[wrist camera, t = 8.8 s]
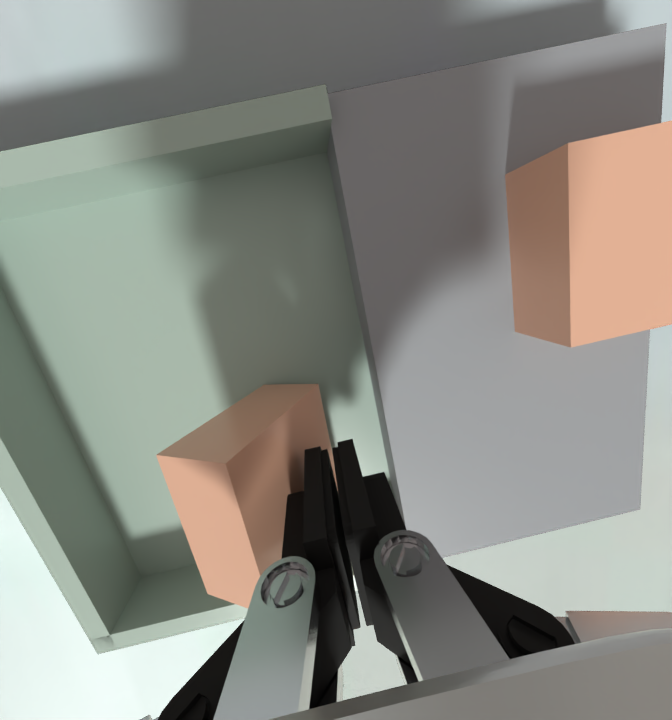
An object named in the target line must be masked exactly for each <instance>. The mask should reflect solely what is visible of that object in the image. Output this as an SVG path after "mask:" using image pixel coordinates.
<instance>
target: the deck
mask: <svg viewBox="0 0 672 720" xmlns="http://www.w3.org/2000/svg"><path fill="white" fill-rule="evenodd" d="M665 41H666V23H665V24H660V25H655V26H650V27H646V28H641V29H636V30H631V31H626V32H622V33H617V34H612V35H607V36H602V37H597V38H593V39H588V40H583V41H578V42H573V43H569V44H564V45H559V46H554V47H549V48H545V49H540V50H535V51H530V52H525V53H521V54H516V55H511V56H506V57H501V58H497V59H492V60H487V61H482V62H477V63H472V64H468V65H463V66H458V67H453V68H448V69H444V70H439V71H434V72H429V73H424V74H420V75H415V76H410V77H405V78H400V79H396V80H391V81H386V82H381V83H376V84H372V85H367V86H362V87H357V88H352V89H347V90H343V91H338V92H333V93H328V99H329V105H330V110H331V115H332V123H331V129H330V136H329V142H328V149H327V155H328V160H329V165H330V170H331V175H332V181H333V186H334V191H335V196H336V201H337V206H338V212H339V217H340V222H341V227H342V232H343V237H344V243H345V248H346V253H347V258H348V263H349V268H350V274H351V279H352V284H353V289H354V294H355V299H356V305H357V310H358V315H359V320H360V325H361V330H362V335H363V341H364V346H365V351H366V356H367V361H368V366H369V372H370V377H371V382H372V387H373V392H374V397H375V403H376V408H377V413H378V418H379V423H380V428H381V434H382V439H383V444H384V449H385V454H386V459H387V465H388V470H389V475H390V480H391V485H392V490H393V496H394V498H395V501H396V503H397V506H398V509H399V511H400V514H401V516H402V519H403V522H404V524H405V527H406V529H407V530H411V531H415V532H418V533H420V534H422V535H423V536H425V537H427V538H428V540H429V541H430V542H431V543H432V544H433V545H434V547H435V548H436V550H437V551H438V553H439V554H440V556H441V557H442V558H444V557H448V556H452V555H456V554H460V553H464V552H468V551H472V550H477V549H481V548H485V547H489V546H493V545H497V544H501V543H505V542H509V541H513V540H517V539H521V538H525V537H530V536H534V535H538V534H542V533H546V532H550V531H554V530H558V529H562V528H566V527H570V526H574V525H578V524H583V523H587V522H591V521H595V520H599V519H603V518H607V517H611V516H615V515H619V514H623V513H627V512H632V511H636V510H640V503H641V484H642V466H643V447H644V429H645V410H646V392H647V373H648V355H649V336H650V329H649V330H645V331H641V332H636V333H632V334H628V335H623V336H619V337H615V338H610V339H606V340H602V341H597V342H593V343H589V344H584V345H580V346H576V347H571V348H570V347H567V346H563V345H560V344H556V343H553V342H549V341H546V340H542V339H538V338H535V337H531V336H528V335H524V334H521V333H517V332H515V327H514V311H513V294H512V278H511V262H510V246H509V230H508V214H507V198H506V182H505V174H507V173H509V172H511V171H513V170H515V169H517V168H519V167H521V166H523V165H525V164H527V163H529V162H531V161H533V160H535V159H537V158H539V157H541V156H543V155H545V154H547V153H549V152H551V151H553V150H555V149H557V148H559V147H561V146H563V145H565V144H567V143H571V142H575V141H580V140H585V139H589V138H594V137H599V136H603V135H608V134H612V133H617V132H622V131H626V130H631V129H636V128H640V127H645V126H650V125H654V124H659V123H661V115H662V96H663V78H664V59H665Z"/></svg>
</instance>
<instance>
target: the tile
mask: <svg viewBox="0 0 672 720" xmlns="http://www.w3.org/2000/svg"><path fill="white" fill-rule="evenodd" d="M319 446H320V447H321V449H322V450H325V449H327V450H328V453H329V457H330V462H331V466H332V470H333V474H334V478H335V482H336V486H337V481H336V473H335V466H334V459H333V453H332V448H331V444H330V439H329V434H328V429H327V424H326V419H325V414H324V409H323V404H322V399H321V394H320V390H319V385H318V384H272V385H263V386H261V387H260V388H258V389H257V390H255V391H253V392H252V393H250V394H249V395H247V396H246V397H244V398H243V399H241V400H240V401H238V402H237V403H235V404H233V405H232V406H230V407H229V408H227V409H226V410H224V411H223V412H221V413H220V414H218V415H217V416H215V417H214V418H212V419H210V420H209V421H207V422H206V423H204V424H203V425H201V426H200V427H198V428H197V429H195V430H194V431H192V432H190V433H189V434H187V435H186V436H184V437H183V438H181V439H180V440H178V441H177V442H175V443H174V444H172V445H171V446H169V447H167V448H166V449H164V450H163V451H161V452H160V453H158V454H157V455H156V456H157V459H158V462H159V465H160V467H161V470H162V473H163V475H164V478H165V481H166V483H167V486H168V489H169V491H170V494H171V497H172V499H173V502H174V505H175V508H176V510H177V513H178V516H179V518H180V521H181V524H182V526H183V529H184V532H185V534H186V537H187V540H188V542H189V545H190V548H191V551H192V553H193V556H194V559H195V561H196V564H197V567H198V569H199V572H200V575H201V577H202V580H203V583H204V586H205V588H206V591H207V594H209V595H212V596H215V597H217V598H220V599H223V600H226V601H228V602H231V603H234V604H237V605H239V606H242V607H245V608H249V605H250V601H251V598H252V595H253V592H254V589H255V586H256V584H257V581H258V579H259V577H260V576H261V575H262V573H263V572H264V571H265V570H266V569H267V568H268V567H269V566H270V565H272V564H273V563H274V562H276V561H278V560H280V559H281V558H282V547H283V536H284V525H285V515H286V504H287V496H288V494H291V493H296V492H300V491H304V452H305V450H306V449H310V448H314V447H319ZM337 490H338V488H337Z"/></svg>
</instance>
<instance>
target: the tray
mask: <svg viewBox="0 0 672 720" xmlns="http://www.w3.org/2000/svg"><path fill="white" fill-rule="evenodd" d="M331 123H332V115H331V110H330V105H329V99H328V94H327V88H326V84H324V85H319V86H314V87H309V88H304V89H300V90H295V91H290V92H285V93H280V94H276V95H271V96H266V97H261V98H256V99H251V100H247V101H242V102H237V103H232V104H227V105H222V106H218V107H213V108H208V109H203V110H198V111H193V112H189V113H184V114H179V115H174V116H169V117H165V118H160V119H155V120H150V121H145V122H140V123H136V124H131V125H126V126H121V127H116V128H111V129H107V130H102V131H97V132H92V133H87V134H82V135H78V136H73V137H68V138H63V139H58V140H54V141H49V142H44V143H39V144H34V145H29V146H25V147H20V148H15V149H10V150H5V151H0V487H1V489H2V491H3V493H4V494H5V496H6V498H7V499H8V501H9V503H10V505H11V506H12V508H13V510H14V511H15V513H16V515H17V517H18V518H19V520H20V522H21V523H22V525H23V527H24V529H25V530H26V532H27V534H28V535H29V537H30V539H31V541H32V542H33V544H34V546H35V547H36V549H37V551H38V553H39V554H40V556H41V558H42V559H43V561H44V563H45V565H46V566H47V568H48V570H49V572H50V573H51V575H52V577H53V578H54V580H55V582H56V584H57V585H58V587H59V589H60V590H61V592H62V594H63V596H64V597H65V599H66V601H67V602H68V604H69V606H70V608H71V609H72V611H73V613H74V614H75V616H76V618H77V620H78V621H79V623H80V625H81V626H82V628H83V630H84V632H85V633H86V635H87V637H88V638H89V640H90V642H91V644H92V645H93V647H94V649H95V650H96V652H97V654H101V653H105V652H109V651H113V650H117V649H121V648H125V647H130V646H134V645H138V644H142V643H146V642H150V641H154V640H158V639H162V638H166V637H170V636H174V635H178V634H182V633H186V632H190V631H195V630H199V629H203V628H207V627H211V626H215V625H219V624H223V623H227V622H231V621H235V620H239V619H243V618H245V617H246V614H247V611H248V608H245V607H242V606H239V605H237V604H234V603H231V602H228V601H226V600H223V599H220V598H217V597H215V596H212V595H209V594H207V591H206V588H205V586H204V583H203V580H202V577H201V575H200V572H199V569H198V567H197V564H196V561H195V559H194V556H193V553H192V551H191V548H190V545H189V542H188V540H187V537H186V534H185V532H184V529H183V526H182V524H181V521H180V518H179V516H178V513H177V510H176V508H175V505H174V502H173V499H172V497H171V494H170V491H169V489H168V486H167V483H166V481H165V478H164V475H163V473H162V470H161V467H160V465H159V462H158V459H157V456H156V455H157V454H158V453H160V452H161V451H163V450H164V449H166V448H167V447H169V446H171V445H172V444H174V443H175V442H177V441H178V440H180V439H181V438H183V437H184V436H186V435H187V434H189V433H190V432H192V431H194V430H195V429H197V428H198V427H200V426H201V425H203V424H204V423H206V422H207V421H209V420H210V419H212V418H214V417H215V416H217V415H218V414H220V413H221V412H223V411H224V410H226V409H227V408H229V407H230V406H232V405H233V404H235V403H237V402H238V401H240V400H241V399H243V398H244V397H246V396H247V395H249V394H250V393H252V392H253V391H255V390H257V389H258V388H260V387H261V386H263V385H272V384H318V385H319V390H320V394H321V399H322V404H323V409H324V414H325V419H326V424H327V429H328V434H329V439H330V444H331V448H333V447H338V444H337V442H340V441H345V440H349V439H353V443H354V446H355V450H356V454H357V457H358V461H359V465H360V469H361V472H362V476H363V477H364V476H368V475H372V474H377V473H381V472H384V473H385V475H386V477H387V480H388V483H389V485H390V488H391V490H392V485H391V480H390V475H389V470H388V465H387V459H386V454H385V449H384V444H383V439H382V434H381V428H380V423H379V418H378V413H377V408H376V403H375V397H374V392H373V387H372V382H371V377H370V372H369V366H368V361H367V356H366V351H365V346H364V341H363V335H362V330H361V325H360V320H359V315H358V310H357V305H356V299H355V294H354V289H353V284H352V279H351V274H350V268H349V263H348V258H347V253H346V248H345V243H344V237H343V232H342V227H341V222H340V217H339V212H338V206H337V201H336V196H335V191H334V186H333V181H332V175H331V170H330V165H329V160H328V155H327V149H328V142H329V136H330V129H331ZM332 453H333V452H332ZM392 493H393V490H392ZM351 567H352V565H351ZM352 573H353V569H352ZM353 580H354V587H355V591H357V590H358V589H357V585H356V581H355V577H354V573H353Z"/></svg>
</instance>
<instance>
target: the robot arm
mask: <svg viewBox="0 0 672 720" xmlns="http://www.w3.org/2000/svg"><path fill="white" fill-rule="evenodd" d="M337 444H338V447H333V448H332V452H333V459H334V466H335V473H336V481H337V486H336V482H335V478H334V474H333V470H332V466H331V462H330V457H329V453H328V450H327V449H325V450H322V449H321V447H320V446H319V447H314V448H310V449H306V450H305V452H304V491H300V492H296V493H291V494H288V496H287V504H286V515H285V525H284V536H283V547H282V558H281V559H280V560H278V561H276V562H274V563H273V564H272V565H270V566H269V567H268V568H267V569H266V570H265V571H264V572H263V573H262V575H261V576H260V577H259V579H258V581H257V584H256V586H255V589H254V592H253V595H252V598H251V601H250V605H249V608H248V611H247V614H246V617H245V620H244V621H243V622H242V623H241V624H240V625H239V627H238V628H237V629H236V630H235V631H234V632H233V633H232V634H231V635H230V636H229V637H228V638H227V640H226V641H225V642H224V643H223V644H222V645H221V646H220V647H219V648H218V649H217V650H216V652H215V653H214V654H213V655H212V656H211V657H210V658H209V659H208V660H207V661H206V662H205V663H204V665H203V666H202V667H201V668H200V669H199V670H198V671H197V672H196V673H195V674H194V675H193V676H192V678H191V679H190V680H189V681H188V682H187V683H186V684H185V685H184V686H183V687H182V688H181V689H180V691H179V692H178V693H177V694H176V695H175V696H174V697H173V698H172V700H171V701H170V702H169V703H168V705H167V706H166V707H165V709H164V710H163V711H162V713H161V715H160V716H159V717H158V718H156V719H154V720H672V613H671V612H628V611H566V617H554V616H553V615H552V614H550V613H548V612H547V611H545V610H543V609H542V608H540V607H538V606H536V605H534V604H532V603H529V602H527V601H525V600H523V599H521V598H518V597H516V596H514V595H512V594H510V593H508V592H505V591H503V590H501V589H499V588H497V587H494V586H492V585H490V584H488V583H486V582H484V581H481V580H479V579H477V578H475V577H473V576H470V575H468V574H466V573H464V572H462V571H460V570H457V569H455V568H453V567H451V566H449V565H446V563H445V562H444V560H443V559H442V557H441V556H440V554H439V553H438V551H437V550H436V548H435V547H434V545H433V544H432V543H431V542H430V541H429V540H428V538H427V537H425V536H423V535H422V534H420V533H418V532H415V531H411V530H407V529H406V527H405V524H404V522H403V519H402V516H401V514H400V511H399V509H398V506H397V503H396V501H395V498H394V496H393V493H392V490H391V488H390V485H389V483H388V480H387V477H386V475H385V473H384V472H381V473H377V474H372V475H368V476H364V477H363V476H362V472H361V469H360V465H359V461H358V457H357V454H356V450H355V446H354V443H353V439H349V440H345V441H340V442H337ZM337 488H338V490H337ZM351 565H352V567H351ZM352 569H353V573H354V577H355V581H356V585H357V589H358V593H359V597H360V601H361V605H362V609H363V613H364V617H365V621H366V625H367V626H369V625H374V629H375V633H376V637H377V641H378V642H379V643H381V644H382V645H383V646H385V647H386V648H387V649H389V650H390V651H392V652H393V653H394V654H395V656H396V660H397V664H398V667H399V670H400V672H401V675H402V678H403V680H404V683H405V685H403V686H399V687H395V688H391V689H387V690H383V691H379V692H375V693H371V694H367V695H363V696H359V697H355V698H352V699H348V700H344V701H343V668H342V662H343V661H344V659H345V657H346V656H347V654H348V653H349V651H350V649H351V648H352V647H351V646H355V641H354V633H353V629H357V628H360V620H359V614H358V607H357V600H356V593H355V587H354V580H353V573H352ZM140 720H152V718H151V716H150V715H148V716H146V717H144V718H142V719H140Z"/></svg>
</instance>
